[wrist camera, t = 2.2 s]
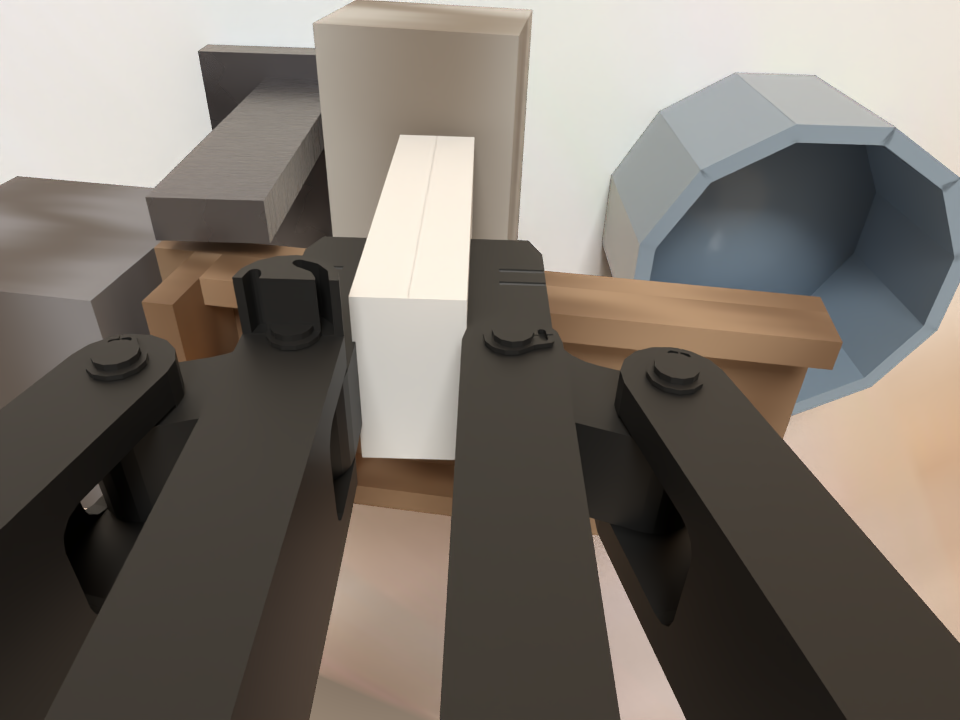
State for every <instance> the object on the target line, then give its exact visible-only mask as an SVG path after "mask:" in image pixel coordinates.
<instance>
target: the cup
mask: <svg viewBox="0 0 960 720" xmlns="http://www.w3.org/2000/svg"><path fill="white" fill-rule="evenodd" d="M602 244H603V247H604V251H605V254H606V257H607V260H608V264H609V267H610V270H611V273H612V277H614V278H625V279H635V280H646V281H657V282H667V283H678V284H688V285H699V286H710V287H720V288H731V289H741V290H752V291H763V292H773V293H784V294H794V295H805V296H816V297H821V299H822V302H823V304H824V306H825V308H826V310H827V312H828V314H829V316H830V318H831V320H832V322H833V324H834V326H835V328H836V330H837V332H838V334H839V336H840V338H841V340H842V342H843V344H842V346H841V349H840V351H839V354H838V357H837V359H836V362H835V364H834V367H833V370H827V369H817V368H808V370H807V372H806V375H805V378H804V381H803V384H802V386H801V389H800V392H799V395H798V398H797V400H796V403H795V406H794V409H793V412H792V414H791V416H793V415H795V414H798V413H801V412H804V411H806V410H809V409H812V408H814V407H817V406H820V405H823V404H825V403H828V402H831V401H834V400H836V399H839V398H842V397H845V396H847V395H850V394H853V393H856V392H858V391H861V390H864V389H866V388H869V387H872V386H873V385H874V384H875V383H876V382H877V381H879V380H880V379H881V378H882V377H883V376H884V375H886V374H887V373H888V372H889V371H890V370H891V369H893V368H894V367H895V366H896V365H897V364H898V363H900V362H901V361H902V360H903V359H904V358H905V357H907V356H908V355H909V354H910V353H911V352H912V351H914V350H915V349H916V348H917V347H918V346H919V345H921V344H922V343H923V342H924V341H925V340H926V339H928V338H929V337H930V336H931V335H932V334H933V333H935V332H936V331H937V330H938V328H939V326H940V323H941V321H942V319H943V317H944V315H945V313H946V311H947V308H948V306H949V304H950V302H951V300H952V298H953V296H954V293H955V291H956V289H957V287H958V285H959V283H960V177H958V176H957V175H956V174H954V173H953V172H952V171H951V170H949V169H948V168H947V167H946V166H944V165H943V164H942V163H940V162H939V161H938V160H937V159H935V158H934V157H933V156H931V155H930V154H929V153H928V152H926V151H925V150H924V149H923V148H921V147H920V146H919V145H917V144H916V143H915V142H914V141H912V140H911V139H910V138H908V137H907V136H906V135H905V134H903V133H902V132H901V131H899V130H898V129H897V128H896V127H895V126H893V125H891V124H890V123H888V122H887V121H885V120H884V119H882V118H881V117H879V116H878V115H876V114H874V113H873V112H871V111H870V110H868V109H867V108H865V107H864V106H862V105H860V104H859V103H857V102H856V101H854V100H853V99H851V98H850V97H848V96H846V95H845V94H843V93H842V92H840V91H839V90H837V89H836V88H834V87H833V86H831V85H829V84H828V83H826V82H825V81H823V80H822V79H820V78H819V77H817V76H815V75H789V74H758V73H734V74H732V75H730V76H728V77H726V78H724V79H722V80H720V81H718V82H716V83H714V84H712V85H710V86H708V87H706V88H704V89H702V90H700V91H698V92H696V93H694V94H692V95H690V96H689V97H687V98H685V99H683V100H681V101H679V102H677V103H675V104H673V105H671V106H669V107H667V108H665V109H663V110H661V111H659V112H658V114H657V115H656V116H655V118H654V119H653V120H652V122H651V123H650V124H649V126H648V127H647V128H646V130H645V131H644V132H643V134H642V135H641V136H640V138H639V139H638V141H637V142H636V143H635V145H634V146H633V147H632V149H631V150H630V151H629V153H628V154H627V155H626V157H625V158H624V159H623V161H622V162H621V163H620V165H619V166H618V167H617V169H616V170H615V171H614V173H613V174H612V175H611V183H610V190H609V197H608V204H607V211H606V219H605V226H604V233H603V240H602Z"/></svg>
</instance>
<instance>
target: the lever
mask: <svg viewBox="0 0 960 720" xmlns="http://www.w3.org/2000/svg"><path fill="white" fill-rule="evenodd" d="M531 24H532V10H528V9H511V8H494V7H476V6H459V5H442V4H424V3H407V2H389V1H372V0H355V1H353V2H351V3H350V4H348V5H346V6H344V7H342V8H340V9H338V10H336V11H335V12H333V13H331V14H329V15H327V16H325V17H323V18H321V19H320V20H318V21H316V22H314V23H313V31H314V42H315V52H316V63H317V74H318V84H319V95H320V105H321V116H322V127H323V137H324V148H325V159H326V169H327V180H328V190H329V201H330V212H331V222H332V233H333V237H356V238H367V237H368V234H369V231H370V228H371V225H372V221H373V218H374V215H375V212H376V209H377V206H378V203H379V200H380V196H381V193H382V190H383V187H384V184H385V181H386V178H387V174H388V171H389V168H390V165H391V162H392V159H393V156H394V153H395V149H396V146H397V143H398V140H399V137H400V135H425V136H456V137H474V175H473V213H472V239H490V240H517V238H518V223H519V207H520V192H521V177H522V162H523V146H524V131H525V116H526V101H527V85H528V70H529V55H530V40H531ZM153 189H154V188H145V187H134V186H123V185H111V184H100V183H88V182H77V181H65V180H54V179H43V178H31V177H20V176H17V177H15V178H13V179H11V180H9V181H7V182H5V183H4V184H2V185H0V409H2V408H3V407H4V406H6V405H7V404H8V403H10V402H11V401H12V400H13V399H15V398H16V397H17V396H19V395H20V394H21V393H22V392H24V391H25V390H26V389H28V388H29V387H30V386H31V385H33V384H34V383H35V382H37V381H38V380H39V379H41V378H42V377H43V376H44V375H46V374H47V373H48V372H50V371H51V370H52V369H53V368H55V367H56V366H57V365H59V364H60V363H61V362H63V361H64V360H65V359H66V358H68V357H69V356H70V355H72V354H73V353H75V352H77V351H78V350H80V349H82V348H83V347H85V346H87V345H89V344H91V343H94V342H97V341H100V340H103V339H105V338H107V337H111V336H116V335H119V336H121V335H122V334H142V335H153V336H156V337H159V338H162V339H165V340H167V341H168V342H169V343H170V344H171V345H172V346H173V347H174V348H175V350H176V354H177V358H178V362H184V361H190V360H196V359H203V358H209V357H214V356H219V355H223V354H228V353H231V352H233V351H234V349H235V347H236V345H237V343H238V341H239V339H240V337H241V335H242V328H241V323H240V318H239V312H238V307H237V302H236V296H235V291H234V286H233V280H232V277H233V276H234V275H235V274H236V273H237V272H238V271H239V270H240V269H241V268H243V267H245V266H247V265H249V264H251V263H253V262H255V261H258V260H262V259H266V258H271V257H275V256H287V255H301V256H302V255H303V253H304V251H305V249H307V248H296V247H286V246H275V245H265V244H254V243H227V242H194V241H160V240H156V239H155V235H154V231H153V227H152V223H151V219H150V215H149V211H148V206H147V202H146V198H145V197H146V196H147V195H148V194H149V193H150V192H151V191H152V190H153ZM544 273H545V279H546V287H547V294H548V301H549V308H550V315H551V322H552V328H553V329H554V330H556V331H557V332H558V334H559V336H560V338H561V340H562V342H563V347H564V350H566V351H567V352H568V353H570V354H571V355H572V356H575V357H577V358H579V359H581V360H583V361H585V362H588V363H592V364H595V365H598V366H602V367H607V368H611V369H615V370H620V369H621V367H622V364H623V361H624V359H625V358H627V357H628V356H630V355H631V354H632V353H634V352H635V351H638V350H642V349H646V348H650V347H673V348H679V349H684V350H688V351H691V352H694V353H696V354H698V355H700V356H703V357H705V358H707V359H709V360H711V361H712V362H713V363H714V364H716V365H717V366H718V367H719V368H721V369H722V370H723V371H724V372H725V373H726V374H727V376H728V377H729V378H730V379H731V380H732V381H733V383H734V384H735V385H736V386H737V387H738V388H739V389H740V391H741V392H742V393H743V394H744V395H745V396H746V397H747V399H748V400H749V401H750V402H751V403H752V404H753V406H754V407H755V408H756V409H757V410H758V411H759V412H760V414H761V415H762V416H763V417H764V418H765V419H766V421H767V422H768V423H769V424H770V425H771V426H772V427H773V429H774V430H775V431H776V432H777V433H778V434H779V436H780V437H781V438H782V439H783V437H784V434H785V431H786V428H787V426H788V423H789V420H790V417H791V414H792V412H793V409H794V406H795V403H796V400H797V398H798V395H799V392H800V389H801V386H802V384H803V381H804V378H805V375H806V372H807V370H808V368H817V369H827V370H833V367H834V364H835V362H836V359H837V357H838V354H839V351H840V349H841V346H842V344H843V342H842V340H841V338H840V336H839V334H838V332H837V330H836V328H835V326H834V324H833V322H832V320H831V318H830V316H829V314H828V312H827V310H826V308H825V306H824V304H823V302H822V299H821V297H816V296H805V295H794V294H784V293H773V292H763V291H752V290H741V289H731V288H720V287H710V286H699V285H688V284H678V283H667V282H657V281H646V280H635V279H625V278H614V277H604V276H593V275H583V274H572V273H561V272H551V271H544ZM355 458H356V469H357V481H358V483H357V488H356V493H355V498H354V503H355V504H363V505H370V506H378V507H386V508H393V509H401V510H409V511H416V512H424V513H431V514H439V515H447V516H452V500H453V483H454V465H455V460H439V459H404V458H368V457H362V450H361V438H360V437H359V442H358V446H357V451H356V455H355ZM101 496H102V492H101V489H100V487H99V484H97V485H96V486H95V487H94V488H93V489H92V490H91V491H90V492H89V493H88V494H87V495H86V496H85V498H84V499H83V500H82V501H81V504H82V507H83V508H89V507H90V506H92V505H93V504H94V503H95V502H96V501H97V500H98V499H99V498H100V497H101ZM590 524H591V530H592V535H598V533H597V528H596V524H595V519H593V518H590Z"/></svg>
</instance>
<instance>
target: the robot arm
mask: <svg viewBox="0 0 960 720" xmlns="http://www.w3.org/2000/svg"><path fill="white" fill-rule="evenodd" d="M473 175H474V137H456V136H425V135H400V137H399V140H398V143H397V146H396V149H395V153H394V156H393V159H392V162H391V165H390V168H389V171H388V174H387V178H386V181H385V184H384V187H383V190H382V193H381V196H380V200H379V203H378V206H377V209H376V212H375V215H374V218H373V221H372V225H371V228H370V231H369V234H368V237H367V238H356V237H322V238H321V239H319V240H318V241H317V242H315V243H314V244H312V245H311V246H309V247H308V248H307V249H305V251H304V253H303V255H302V256H301V255H287V256H275V257H271V258H266V259H262V260H258V261H255V262H253V263H251V264H249V265H247V266H245V267H243V268H241V269H240V270H239V271H238V272H237V273H236V274H235V275H234V276H233V277H232V280H233V286H234V291H235V296H236V302H237V307H238V312H239V318H240V323H241V328H242V335H241V337H240V339H239V341H238V343H237V345H236V347H235V349H234V351H233V352H231V353H228V354H223V355H219V356H214V357H209V358H203V359H196V360H190V361H184V362H178V358H177V354H176V350H175V348H174V347H173V346H172V345H171V344H170V343H169V342H168V341H167V340H165V339H162V338H159V337H156V336H153V335H142V334H122V335H121V336H119V335H116V336H111V337H107V338H105V339H103V340H100V341H97V342H94V343H91V344H89V345H87V346H85V347H83V348H82V349H80V350H78V351H77V352H75V353H73V354H72V355H70V356H69V357H68V358H66V359H65V360H64V361H63V362H61V363H60V364H59V365H57V366H56V367H55V368H53V369H52V370H51V371H50V372H48V373H47V374H46V375H44V376H43V377H42V378H41V379H39V380H38V381H37V382H35V383H34V384H33V385H31V386H30V387H29V388H28V389H26V390H25V391H24V392H22V393H21V394H20V395H19V396H17V397H16V398H15V399H13V400H12V401H11V402H10V403H8V404H7V405H6V406H4V407H3V408H2V409H0V720H309V718H310V713H311V708H312V703H313V698H314V693H315V688H316V684H317V679H318V674H319V669H320V664H321V659H322V654H323V650H324V645H325V640H326V635H327V630H328V625H329V620H330V615H331V610H332V606H333V601H334V596H335V591H336V586H337V581H338V576H339V571H340V566H341V562H342V557H343V552H344V547H345V542H346V537H347V532H348V527H349V522H350V518H351V513H352V508H353V503H354V498H355V493H356V488H357V483H358V481H357V469H356V458H355V455H356V451H357V446H358V442H359V437H360V438H361V450H362V457H368V458H404V459H439V460H455V465H454V483H453V500H452V517H451V534H450V552H449V569H448V586H447V603H446V620H445V638H444V655H443V672H442V689H441V706H440V720H620V714H619V707H618V701H617V694H616V688H615V681H614V675H613V668H612V661H611V655H610V648H609V642H608V635H607V629H606V622H605V616H604V609H603V603H602V596H601V589H600V583H599V576H598V570H597V563H596V557H595V550H594V544H593V537H592V530H591V524H590V518H593V519H595V524H596V528H597V533H598V535H599V537H600V539H601V541H602V543H603V545H604V547H605V549H606V552H607V554H608V556H609V558H610V560H611V562H612V564H613V566H614V568H615V570H616V573H617V575H618V577H619V579H620V581H621V583H622V585H623V587H624V589H625V592H626V594H627V596H628V598H629V600H630V602H631V604H632V606H633V608H634V610H635V613H636V615H637V617H638V619H639V621H640V623H641V625H642V627H643V629H644V632H645V634H646V636H647V638H648V640H649V642H650V644H651V646H652V648H653V650H654V653H655V655H656V657H657V659H658V661H659V663H660V665H661V667H662V669H663V671H664V674H665V676H666V678H667V680H668V682H669V684H670V686H671V688H672V690H673V693H674V695H675V697H676V699H677V701H678V703H679V705H680V707H681V709H682V711H683V714H684V716H685V718H686V720H960V643H959V642H958V641H957V640H956V638H955V637H954V636H953V635H952V634H951V633H950V631H949V630H948V629H947V628H946V627H945V626H944V625H943V623H942V622H941V621H940V620H939V619H938V618H937V616H936V615H935V614H934V613H933V612H932V611H931V610H930V608H929V607H928V606H927V605H926V604H925V603H924V601H923V600H922V599H921V598H920V597H919V596H918V595H917V593H916V592H915V591H914V590H913V589H912V588H911V586H910V585H909V584H908V583H907V582H906V581H905V580H904V578H903V577H902V576H901V575H900V574H899V573H898V572H897V570H896V569H895V568H894V567H893V566H892V565H891V563H890V562H889V561H888V560H887V559H886V558H885V557H884V555H883V554H882V553H881V552H880V551H879V550H878V548H877V547H876V546H875V545H874V544H873V543H872V542H871V540H870V539H869V538H868V537H867V536H866V535H865V533H864V532H863V531H862V530H861V529H860V528H859V527H858V525H857V524H856V523H855V522H854V521H853V520H852V519H851V517H850V516H849V515H848V514H847V513H846V512H845V510H844V509H843V508H842V507H841V506H840V505H839V504H838V502H837V501H836V500H835V499H834V498H833V497H832V495H831V494H830V493H829V492H828V491H827V490H826V489H825V487H824V486H823V485H822V484H821V483H820V482H819V480H818V479H817V478H816V477H815V476H814V475H813V474H812V472H811V471H810V470H809V469H808V468H807V467H806V465H805V464H804V463H803V462H802V461H801V460H800V459H799V457H798V456H797V455H796V454H795V453H794V452H793V451H792V449H791V448H790V447H789V446H788V445H787V444H786V442H785V441H784V440H783V439H782V438H781V437H780V436H779V434H778V433H777V432H776V431H775V430H774V429H773V427H772V426H771V425H770V424H769V423H768V422H767V421H766V419H765V418H764V417H763V416H762V415H761V414H760V412H759V411H758V410H757V409H756V408H755V407H754V406H753V404H752V403H751V402H750V401H749V400H748V399H747V397H746V396H745V395H744V394H743V393H742V392H741V391H740V389H739V388H738V387H737V386H736V385H735V384H734V383H733V381H732V380H731V379H730V378H729V377H728V376H727V374H726V373H725V372H724V371H723V370H722V369H721V368H719V367H718V366H717V365H716V364H714V363H713V362H712V361H711V360H709V359H707V358H705V357H703V356H700V355H698V354H696V353H694V352H691V351H688V350H684V349H679V348H673V347H650V348H646V349H642V350H638V351H635V352H634V353H632V354H631V355H630V356H628V357H627V358H625V359H624V361H623V364H622V367H621V369H620V370H615V369H611V368H607V367H602V366H598V365H595V364H592V363H588V362H585V361H583V360H581V359H579V358H577V357H575V356H572V355H571V354H570V353H568V352H567V351H566V350H564V347H563V342H562V340H561V338H560V336H559V334H558V332H557V331H556V330H554V329H553V328H552V322H551V315H550V308H549V301H548V294H547V287H546V279H545V273H544V265H543V258H542V254H541V253H540V252H539V251H538V250H537V249H536V248H535V247H534V246H533V245H532V244H531V243H530V242H529V241H522V240H490V239H472V213H473ZM97 484H99V487H100V489H101V492H102V496H101V497H100V498H99V499H98V500H97V501H96V502H95V503H94V504H93V505H92V506H90V507H89V508H88V509H86V510H85V509H84V508H83V507H82V504H81V501H82V500H83V499H84V498H85V496H86V495H87V494H88V493H89V492H90V491H91V490H92V489H93V488H94V487H95V486H96V485H97Z"/></svg>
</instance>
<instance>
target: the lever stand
mask: <svg viewBox="0 0 960 720" xmlns="http://www.w3.org/2000/svg"><path fill="white" fill-rule="evenodd" d="M198 54H199V59H200V65H201V70H202V76H203V81H204V87H205V92H206V98H207V103H208V109H209V114H210V120H211V125H212V132H211V133H209V134H208V135H207V136H206V137H205V138H204V139H203V140H202V141H201V142H200V143H199V144H198V145H197V146H196V147H195V148H194V149H193V150H192V151H191V152H190V153H189V154H188V155H187V156H186V157H185V158H184V159H183V160H182V161H181V162H180V163H179V164H178V165H177V166H176V167H175V168H174V169H173V170H172V171H171V172H170V173H169V174H168V175H167V176H166V177H165V178H164V179H163V180H162V181H161V182H160V183H159V184H158V185H157V186H156V187H155V188H154V189H153V190H152V191H151V192H150V193H149V194H148V195H147V196H146V197H145V198H146V202H147V206H148V211H149V215H150V219H151V223H152V227H153V231H154V235H155V239H156V240H160V241H194V242H227V243H254V244H265V245H275V246H286V247H296V248H308V247H309V246H311V245H312V244H314V243H315V242H317V241H318V240H319V239H321V238H322V237H333V233H332V222H331V212H330V201H329V190H328V180H327V169H326V159H325V148H324V137H323V127H322V116H321V105H320V95H319V84H318V74H317V63H316V52H315V48H292V47H263V46H233V45H207V46H205V47H204V48H202V49H201V50H199V51H198Z"/></svg>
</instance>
